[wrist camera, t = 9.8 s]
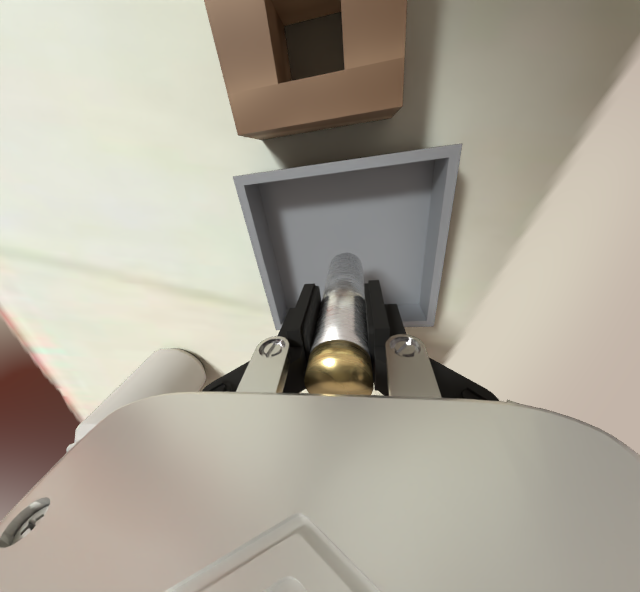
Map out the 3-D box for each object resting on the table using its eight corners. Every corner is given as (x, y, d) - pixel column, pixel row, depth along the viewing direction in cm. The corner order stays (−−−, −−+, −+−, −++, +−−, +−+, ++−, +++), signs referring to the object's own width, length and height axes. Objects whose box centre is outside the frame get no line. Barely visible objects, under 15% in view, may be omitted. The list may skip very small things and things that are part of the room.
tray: (249, 174, 18) (232, 176, 15) (444, 145, 15) (462, 143, 13) (284, 311, 24) (276, 329, 22) (424, 306, 22) (433, 326, 19)
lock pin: (327, 254, 16) (298, 360, 8) (362, 251, 16) (373, 360, 7) (330, 284, 17) (309, 405, 9) (363, 282, 17) (373, 407, 8)
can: (211, 354, 29) (135, 460, 19) (208, 388, 33) (144, 491, 23) (153, 336, 29) (43, 434, 19) (157, 373, 33) (69, 471, 22)
